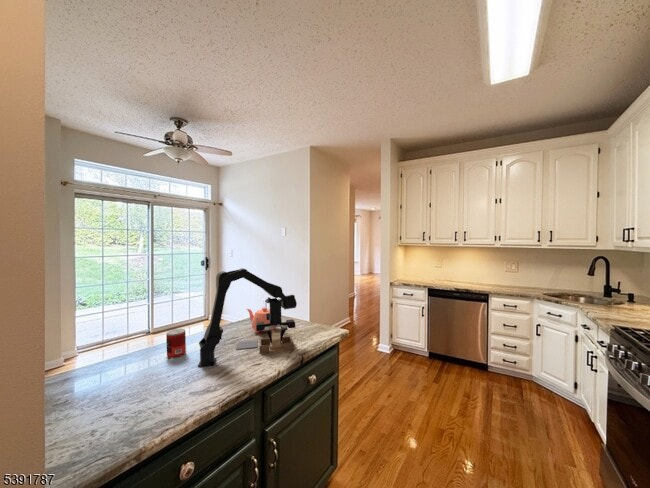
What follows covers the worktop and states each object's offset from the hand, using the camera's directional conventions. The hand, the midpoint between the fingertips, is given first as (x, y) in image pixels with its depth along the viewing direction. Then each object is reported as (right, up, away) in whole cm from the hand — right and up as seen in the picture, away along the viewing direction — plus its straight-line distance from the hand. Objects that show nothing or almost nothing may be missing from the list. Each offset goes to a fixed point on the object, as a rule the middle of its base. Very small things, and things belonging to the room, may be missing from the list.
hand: (276, 342), depth 134 cm
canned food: (-46, -4, -6) cm, 46 cm away
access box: (0, -3, 0) cm, 3 cm away
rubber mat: (-15, -3, +4) cm, 16 cm away
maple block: (0, -1, 0) cm, 1 cm away
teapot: (-13, -3, +27) cm, 30 cm away
